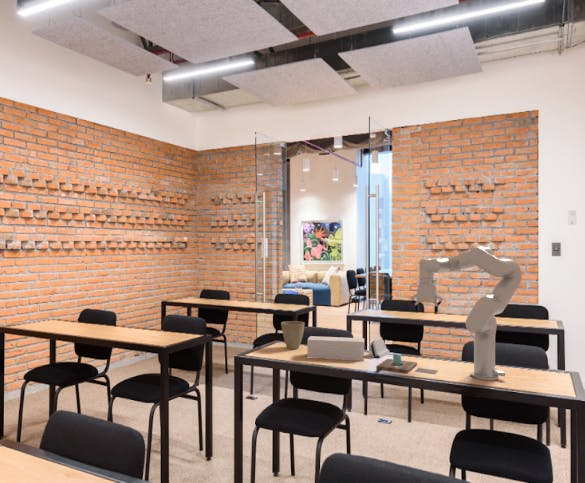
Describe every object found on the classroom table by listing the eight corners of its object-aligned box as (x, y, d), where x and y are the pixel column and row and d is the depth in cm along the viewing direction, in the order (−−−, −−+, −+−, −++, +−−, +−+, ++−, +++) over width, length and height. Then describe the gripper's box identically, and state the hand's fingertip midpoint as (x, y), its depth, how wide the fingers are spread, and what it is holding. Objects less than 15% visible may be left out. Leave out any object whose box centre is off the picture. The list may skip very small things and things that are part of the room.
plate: (438, 373, 229) (438, 370, 229) (434, 377, 222) (434, 374, 222) (418, 370, 233) (418, 367, 233) (414, 374, 226) (414, 371, 226)
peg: (402, 369, 236) (402, 354, 236) (399, 371, 232) (399, 355, 232) (394, 368, 237) (394, 353, 238) (392, 370, 234) (392, 354, 234)
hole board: (416, 368, 239) (416, 362, 239) (407, 376, 223) (407, 369, 223) (387, 364, 247) (387, 358, 247) (376, 371, 231) (376, 365, 231)
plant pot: (304, 345, 293) (304, 320, 294) (305, 350, 278) (305, 324, 279) (281, 345, 293) (281, 320, 293) (280, 350, 278) (280, 324, 279)
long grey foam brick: (307, 358, 260) (307, 339, 260) (309, 354, 270) (309, 336, 271) (363, 361, 254) (363, 341, 255) (364, 356, 265) (364, 338, 265)
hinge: (380, 358, 260) (374, 341, 262) (372, 360, 262) (367, 343, 264) (390, 352, 274) (384, 336, 276) (383, 354, 277) (377, 338, 278)
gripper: (444, 281, 247) (444, 313, 247) (412, 280, 255) (412, 311, 255) (441, 282, 241) (441, 314, 240) (408, 281, 249) (409, 312, 248)
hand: (426, 312), depth 248 cm, fingers open, 9 cm apart
